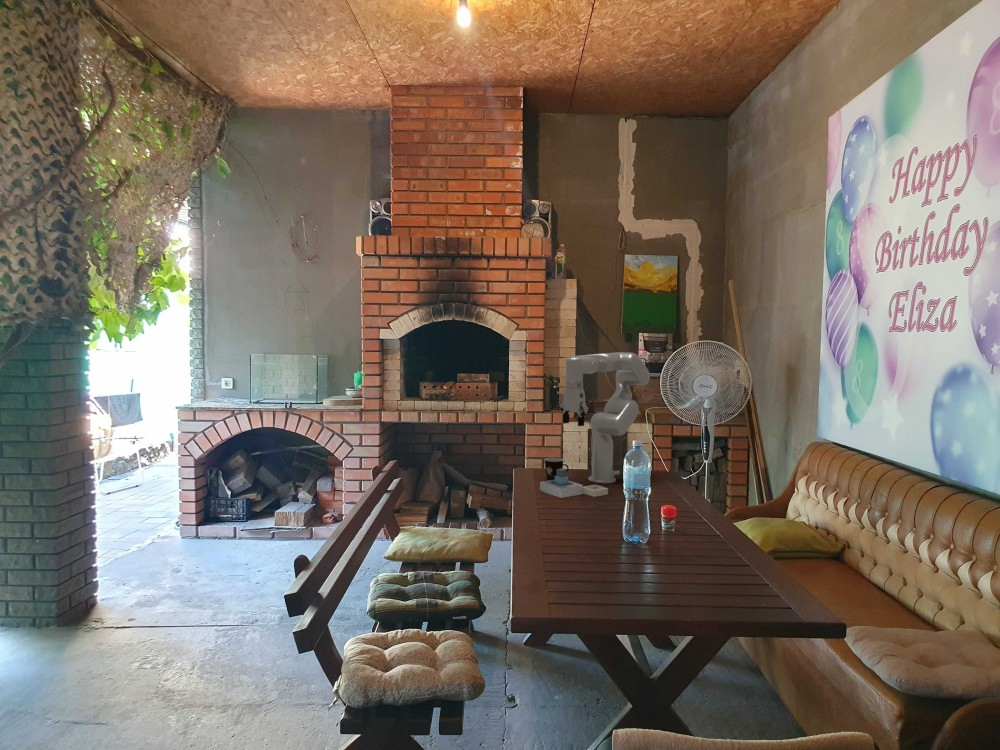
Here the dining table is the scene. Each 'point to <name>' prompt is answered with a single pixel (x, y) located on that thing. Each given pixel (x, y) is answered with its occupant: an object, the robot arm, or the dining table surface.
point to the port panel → (561, 488)
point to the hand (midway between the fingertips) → (573, 424)
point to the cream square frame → (595, 490)
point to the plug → (561, 477)
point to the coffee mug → (553, 467)
